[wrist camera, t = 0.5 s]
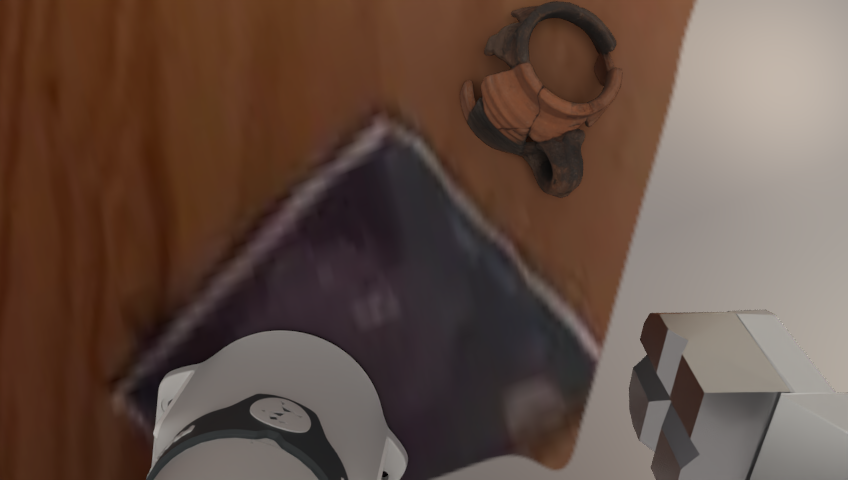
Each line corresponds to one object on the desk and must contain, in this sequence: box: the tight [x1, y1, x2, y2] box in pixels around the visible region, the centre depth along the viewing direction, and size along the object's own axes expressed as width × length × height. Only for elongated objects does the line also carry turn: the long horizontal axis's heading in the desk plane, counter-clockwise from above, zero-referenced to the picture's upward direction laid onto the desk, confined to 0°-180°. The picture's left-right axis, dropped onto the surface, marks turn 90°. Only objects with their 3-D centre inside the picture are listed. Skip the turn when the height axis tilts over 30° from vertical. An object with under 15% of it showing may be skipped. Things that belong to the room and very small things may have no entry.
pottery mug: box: [460, 1, 622, 198], centre depth 52 cm, size 12×10×8 cm
